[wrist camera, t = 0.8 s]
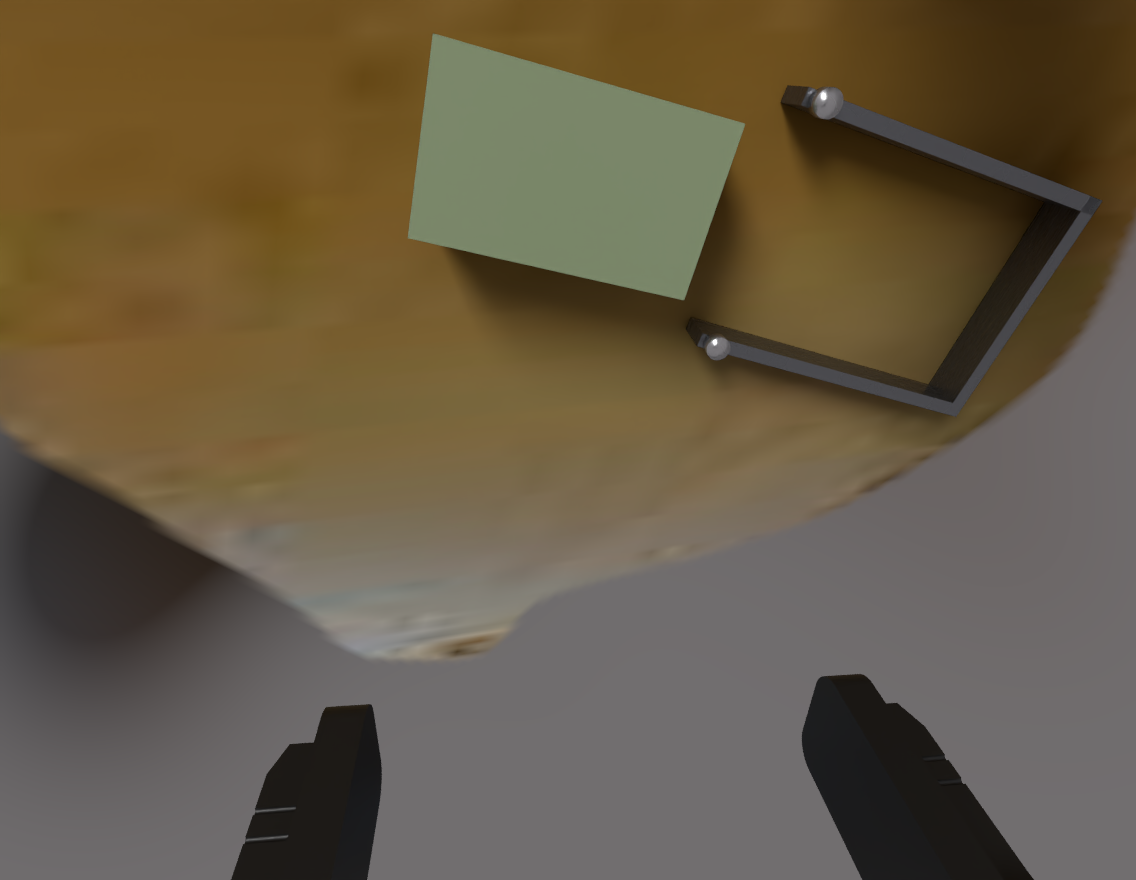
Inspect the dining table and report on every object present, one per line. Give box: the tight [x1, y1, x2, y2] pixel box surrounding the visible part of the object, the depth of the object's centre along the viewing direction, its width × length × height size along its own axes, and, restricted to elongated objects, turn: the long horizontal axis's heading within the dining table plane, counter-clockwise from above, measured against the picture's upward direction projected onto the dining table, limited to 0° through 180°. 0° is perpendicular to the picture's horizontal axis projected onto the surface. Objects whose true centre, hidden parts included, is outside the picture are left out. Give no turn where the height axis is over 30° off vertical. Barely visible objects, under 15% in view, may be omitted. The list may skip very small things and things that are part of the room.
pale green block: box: [408, 34, 745, 300], centre depth 23 cm, size 6×10×5 cm, turn 76°
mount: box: [686, 85, 1102, 417], centre depth 27 cm, size 11×14×3 cm
